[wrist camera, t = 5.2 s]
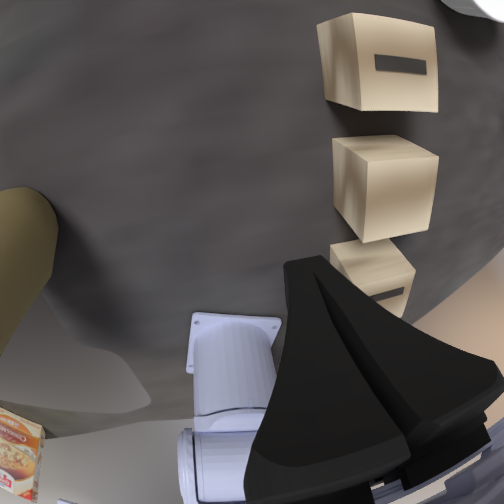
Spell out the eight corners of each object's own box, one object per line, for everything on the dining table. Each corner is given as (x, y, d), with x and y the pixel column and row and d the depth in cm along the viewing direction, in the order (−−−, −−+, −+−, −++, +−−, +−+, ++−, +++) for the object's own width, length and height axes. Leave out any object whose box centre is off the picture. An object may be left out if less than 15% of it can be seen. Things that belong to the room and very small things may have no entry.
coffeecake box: (42, 425, 40) (32, 502, 24) (46, 433, 44) (38, 503, 28) (-13, 399, 35) (-30, 471, 19) (-6, 410, 38) (-19, 477, 22)
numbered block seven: (378, 278, 25) (403, 317, 21) (328, 290, 25) (348, 334, 21) (385, 233, 22) (417, 271, 18) (329, 244, 22) (355, 287, 18)
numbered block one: (392, 98, 16) (440, 112, 12) (324, 99, 16) (362, 111, 12) (387, 30, 13) (436, 27, 9) (316, 25, 13) (353, 12, 9)
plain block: (391, 196, 20) (427, 229, 16) (333, 205, 20) (362, 243, 16) (394, 134, 18) (438, 156, 13) (331, 138, 17) (367, 161, 13)
